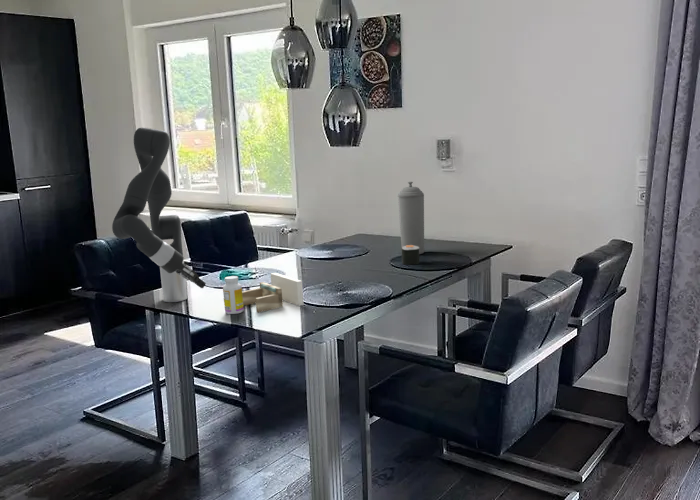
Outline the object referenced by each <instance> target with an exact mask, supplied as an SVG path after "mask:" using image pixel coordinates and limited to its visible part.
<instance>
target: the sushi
mask: <svg viewBox="0 0 700 500" xmlns="http://www.w3.org/2000/svg"><path fill="white" fill-rule="evenodd" d="M401 264H402V265H404V266H405V265H407V266H408V265H409V266H411V265H418V264H420V254H419V247H417V246H414V245H406V246H403V248H402V247H401Z"/></svg>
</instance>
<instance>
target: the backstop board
mask: <svg viewBox="0 0 700 500" xmlns="http://www.w3.org/2000/svg"><path fill="white" fill-rule="evenodd" d="M270 285H273V286H276V287H279V288H282V301H285V302H288V303H290V304H293V305H296V306H304V292H303V291H304V290H303V281H302V280H300V279H297V278H293V277H291V276H287V275H284V274H281V273H277V272H272V273H270Z"/></svg>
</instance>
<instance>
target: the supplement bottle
mask: <svg viewBox="0 0 700 500" xmlns="http://www.w3.org/2000/svg"><path fill="white" fill-rule="evenodd" d="M224 282H225V284H224V285H223V287H222V291H223V292H222V293H223V303H224V311H225V313H226V314H228V315H237V314H240V313H244V311H245V308H244V306H245V305H244V306H243V296H242V291H243V288H242V287H243V286H242V284H241V283H239V276H237V275H231V276H226V277H224Z"/></svg>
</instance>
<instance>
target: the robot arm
mask: <svg viewBox="0 0 700 500" xmlns="http://www.w3.org/2000/svg"><path fill="white" fill-rule="evenodd" d="M170 143H171V139H170V135H169V133H168V132H167V131H165V130H162V129H156V128H150V127H138V128H137V129H136V130H135V132H134V134H133V148H134V151H135V156H136V158H137V160H138V164H139V166H140V171H139V172H138V173H137V174H136V175H135V176H134V177H133V178H132V179H131V181H130V182H129V184H128V186H127V189H126V192H125V195H124V199H123V202H122V203H121V205H120V207H119V209H118V211H117V212H116V214H115V217H114V218H113V222H112V225H111V229H112V234H113V235H114V236H115V237H116V238H117V239H119V240H120V239H121V240H126V239H129V238H132V239H133V240H134V241H135V242H136V245H135V246H136V248H137V249H138V250H139V251H140V253H141V252H142V254H144V255H145V256H147V257H148V258H149V259H150V260H151V261H152V262H154V263H155V264H156V265H157V266H158V267H159V272H160V280H161V281H160V283H161V292H162V301H163V302H166V303H177V302H182V301H185V300H187V299H188V290H187V289H188V288H187V281H190V282H191V283H193V284H194V285H196V286H198V287H199V288H200V289H204V288H205V286H206V285H207V283H206V282H205V281H204V280H202V279H201V278H200V276H199V275H198V274H197V272H196V271H195V270H194V269H192V268H190V266H189V265H188V264H186V263H185V261H184V252H183V241H182V224H181V218H180V217H179V215H177V214H171V215H161V213H162V211H163V210H164V208H165V207H166V206H167V204H168V202H170V200H171V197H172V195H173V193H172V192H173V191H172V185H171V180H170V177H169V176H168V174H167V173H166V171H165V170H164V169H163V168H162V166H163V164H164V161H165V159H166V156H168V152H169V149H170V145H171V144H170ZM146 206H148V211H149V219H150V228H149V226H148V225H147V223H145V221H144V220H143V219H142V218H140V217H139V216H140V214H141V213H142V212H143V211H144V210H145V208H146ZM166 240H172V242H171V243H170V244H168V242H166Z"/></svg>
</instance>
